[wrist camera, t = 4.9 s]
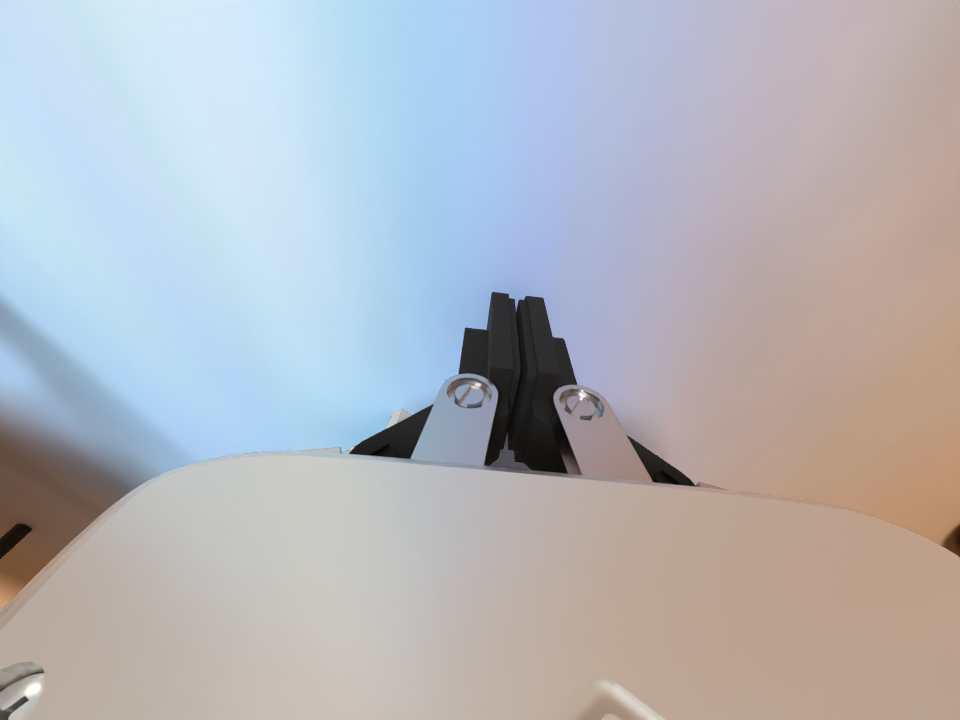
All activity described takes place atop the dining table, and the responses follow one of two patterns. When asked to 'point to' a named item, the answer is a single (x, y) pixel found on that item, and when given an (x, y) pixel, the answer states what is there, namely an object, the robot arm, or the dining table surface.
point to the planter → (12, 538)
